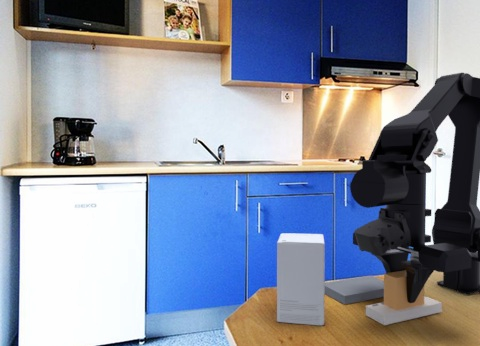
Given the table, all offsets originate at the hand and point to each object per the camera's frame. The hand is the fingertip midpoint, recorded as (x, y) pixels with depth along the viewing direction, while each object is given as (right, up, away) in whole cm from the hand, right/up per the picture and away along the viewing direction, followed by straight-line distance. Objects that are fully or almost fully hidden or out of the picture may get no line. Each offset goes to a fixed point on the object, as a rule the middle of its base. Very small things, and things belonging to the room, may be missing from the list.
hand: (404, 299), depth 60 cm
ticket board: (-4, -2, +10) cm, 11 cm away
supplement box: (-16, -3, +1) cm, 17 cm away
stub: (0, -2, 0) cm, 2 cm away
